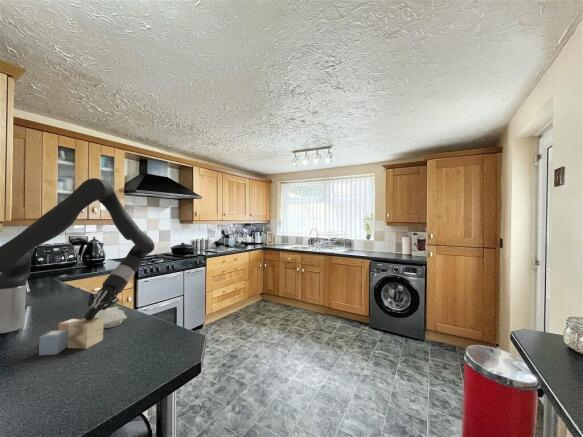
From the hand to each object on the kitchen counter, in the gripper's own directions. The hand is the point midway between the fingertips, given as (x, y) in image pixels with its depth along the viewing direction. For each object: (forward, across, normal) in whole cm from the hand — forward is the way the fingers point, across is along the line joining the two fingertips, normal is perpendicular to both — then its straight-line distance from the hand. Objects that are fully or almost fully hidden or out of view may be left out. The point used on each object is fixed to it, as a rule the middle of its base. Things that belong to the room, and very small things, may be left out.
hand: (87, 319), depth 90 cm
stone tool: (-8, -15, +20) cm, 26 cm away
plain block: (+6, 0, +6) cm, 9 cm away
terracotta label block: (+5, -11, +8) cm, 14 cm away
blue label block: (+11, -5, +1) cm, 12 cm away
